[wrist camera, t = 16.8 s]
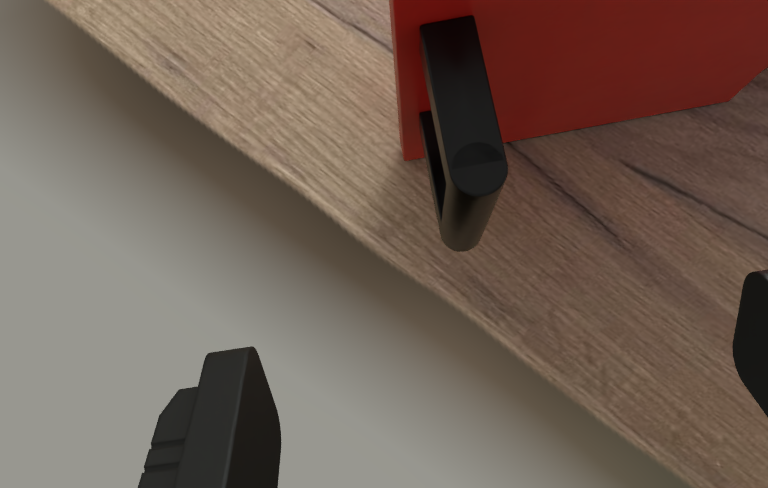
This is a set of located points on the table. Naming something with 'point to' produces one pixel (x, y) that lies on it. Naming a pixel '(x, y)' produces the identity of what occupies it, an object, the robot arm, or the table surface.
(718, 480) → the table surface
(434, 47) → the door
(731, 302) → the table surface
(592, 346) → the table surface
